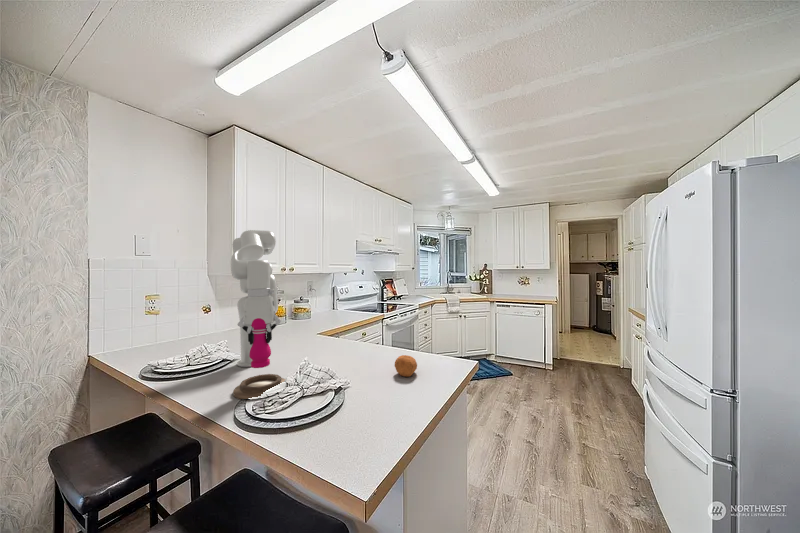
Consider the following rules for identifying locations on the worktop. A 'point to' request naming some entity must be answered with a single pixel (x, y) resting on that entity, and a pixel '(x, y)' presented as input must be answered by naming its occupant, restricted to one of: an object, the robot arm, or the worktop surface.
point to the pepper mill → (259, 345)
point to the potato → (405, 365)
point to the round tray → (256, 385)
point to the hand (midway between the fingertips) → (260, 342)
